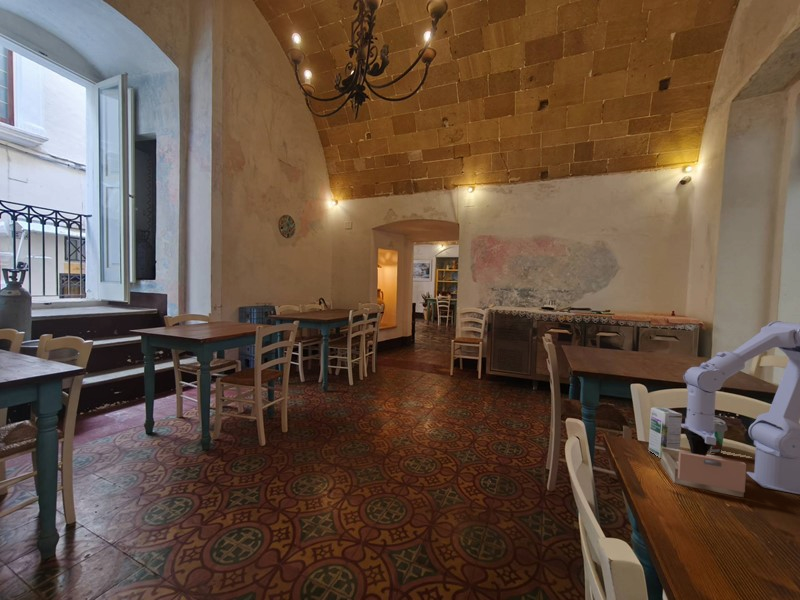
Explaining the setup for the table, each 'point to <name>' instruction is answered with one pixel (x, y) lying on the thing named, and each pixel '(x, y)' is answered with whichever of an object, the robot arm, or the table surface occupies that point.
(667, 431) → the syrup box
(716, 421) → the food container
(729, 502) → the table surface
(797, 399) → the robot arm
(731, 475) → the panel
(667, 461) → the tray
